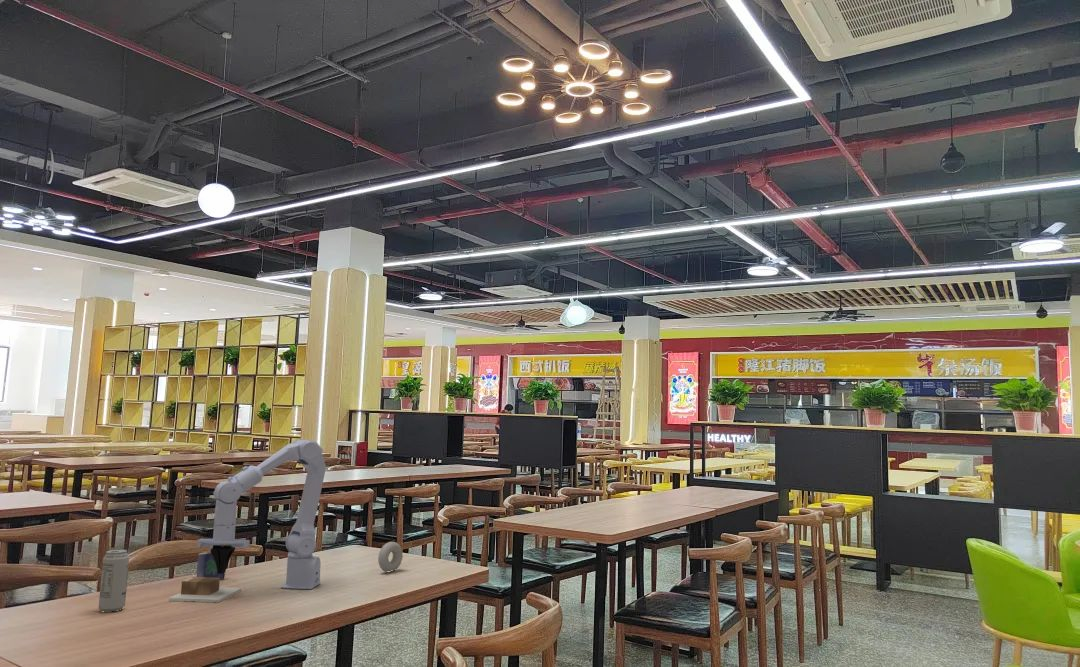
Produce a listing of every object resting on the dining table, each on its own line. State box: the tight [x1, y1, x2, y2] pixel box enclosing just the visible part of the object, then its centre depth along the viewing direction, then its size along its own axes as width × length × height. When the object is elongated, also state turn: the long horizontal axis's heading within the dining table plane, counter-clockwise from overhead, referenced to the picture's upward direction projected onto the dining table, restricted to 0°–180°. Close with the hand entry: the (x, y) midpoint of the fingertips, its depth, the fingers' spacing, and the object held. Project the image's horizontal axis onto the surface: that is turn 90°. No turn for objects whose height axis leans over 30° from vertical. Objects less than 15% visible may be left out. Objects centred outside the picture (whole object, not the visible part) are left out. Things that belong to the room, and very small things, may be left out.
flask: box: [196, 546, 226, 581], centre depth 226 cm, size 9×3×11 cm, turn 146°
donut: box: [377, 541, 404, 572], centre depth 244 cm, size 10×4×10 cm, turn 146°
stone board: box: [168, 586, 242, 604], centre depth 207 cm, size 14×14×1 cm
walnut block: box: [180, 576, 221, 595], centre depth 207 cm, size 4×6×8 cm
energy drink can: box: [98, 549, 130, 613], centre depth 191 cm, size 6×6×15 cm
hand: (221, 573), depth 207 cm, fingers closed
